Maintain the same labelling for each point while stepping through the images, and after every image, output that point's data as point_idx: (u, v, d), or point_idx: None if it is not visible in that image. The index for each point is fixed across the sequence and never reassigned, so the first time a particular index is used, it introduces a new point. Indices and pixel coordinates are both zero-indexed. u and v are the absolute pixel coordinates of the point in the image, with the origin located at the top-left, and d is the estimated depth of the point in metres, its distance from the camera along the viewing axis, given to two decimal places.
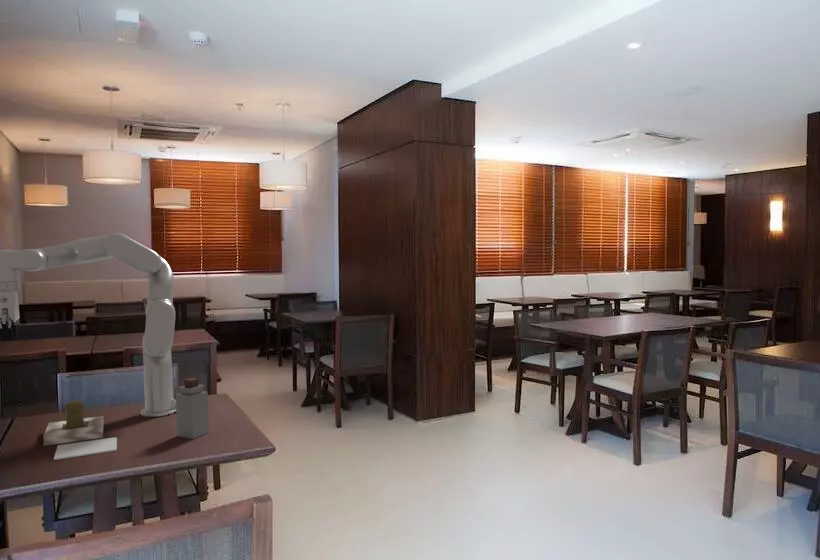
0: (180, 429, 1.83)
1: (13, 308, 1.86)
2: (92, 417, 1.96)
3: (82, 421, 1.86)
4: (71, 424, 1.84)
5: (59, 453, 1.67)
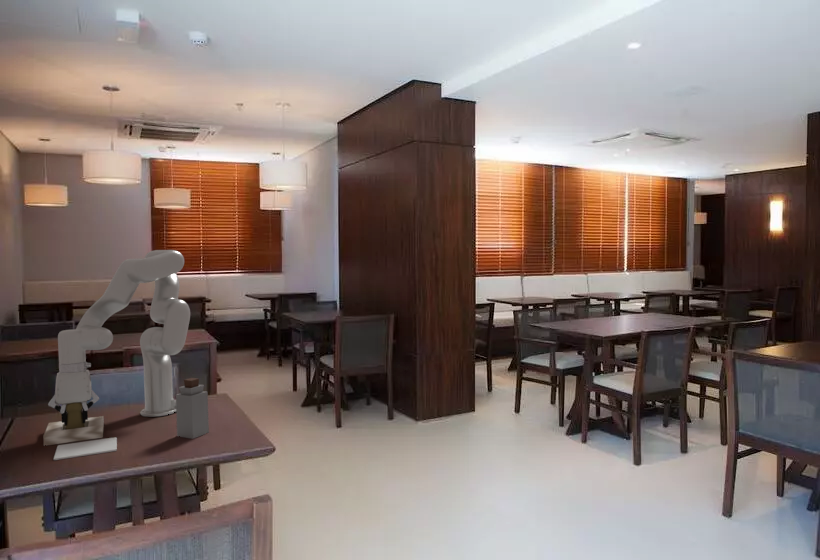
0: (180, 429, 1.83)
1: None
2: (92, 417, 1.96)
3: (82, 421, 1.86)
4: (71, 424, 1.84)
5: (59, 453, 1.67)
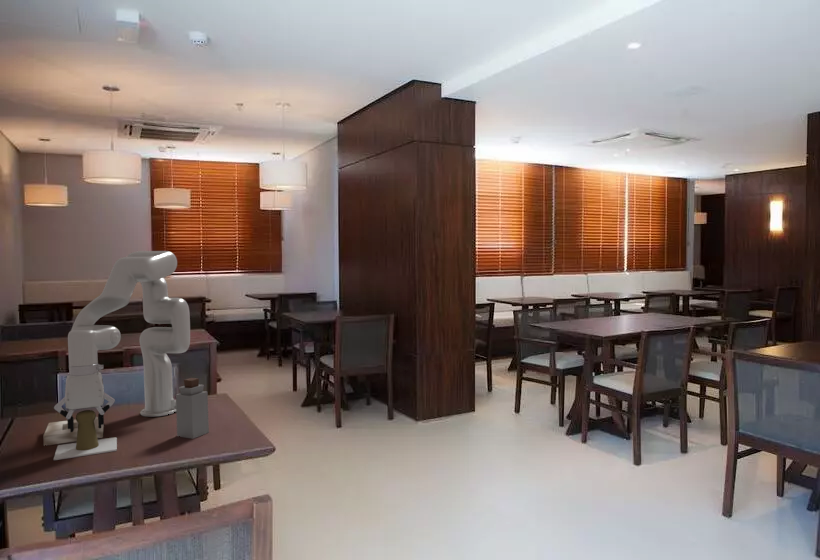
0: (180, 429, 1.83)
1: None
2: None
3: (94, 432, 1.72)
4: (82, 436, 1.70)
5: (59, 453, 1.67)
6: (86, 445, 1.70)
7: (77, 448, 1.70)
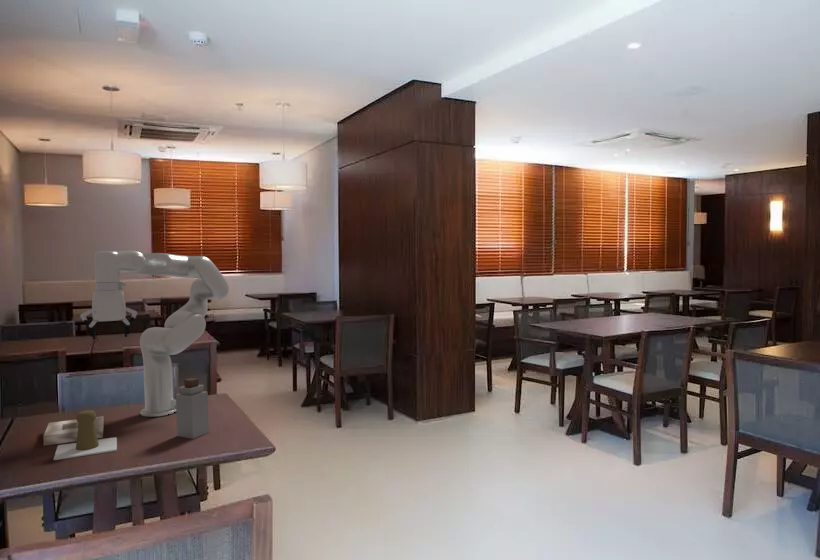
0: (180, 429, 1.83)
1: None
2: None
3: (94, 432, 1.72)
4: (82, 436, 1.70)
5: (59, 453, 1.67)
6: (86, 445, 1.70)
7: (77, 448, 1.70)
